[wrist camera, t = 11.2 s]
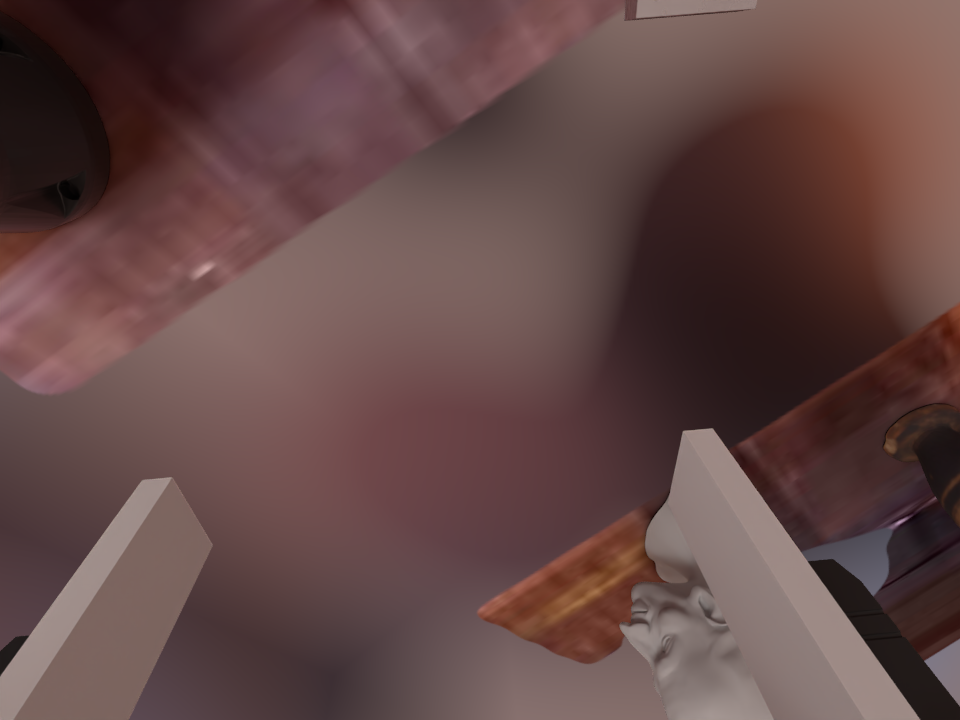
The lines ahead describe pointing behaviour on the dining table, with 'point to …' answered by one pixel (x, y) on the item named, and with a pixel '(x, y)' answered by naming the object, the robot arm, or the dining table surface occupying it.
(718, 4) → the grey slotted base plate
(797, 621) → the robot arm
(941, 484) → the vase
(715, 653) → the head bust
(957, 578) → the dining table surface
